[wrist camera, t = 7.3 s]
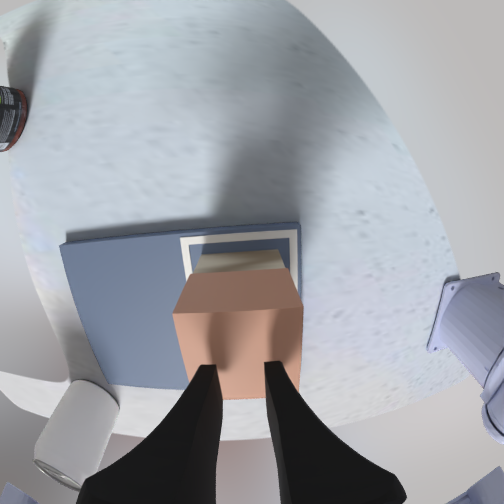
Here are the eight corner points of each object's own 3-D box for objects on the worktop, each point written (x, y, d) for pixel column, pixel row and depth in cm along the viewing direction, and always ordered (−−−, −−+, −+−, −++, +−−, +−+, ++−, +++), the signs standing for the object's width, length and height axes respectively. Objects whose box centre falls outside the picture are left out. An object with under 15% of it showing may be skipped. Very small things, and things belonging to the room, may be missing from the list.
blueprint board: (297, 222, 18) (300, 225, 17) (295, 377, 23) (297, 385, 22) (65, 242, 18) (58, 246, 17) (111, 377, 22) (107, 384, 21)
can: (129, 417, 25) (102, 500, 13) (88, 412, 25) (56, 484, 13) (104, 378, 23) (60, 468, 11) (62, 375, 23) (17, 449, 11)
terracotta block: (288, 267, 14) (303, 306, 10) (287, 346, 15) (298, 394, 12) (190, 273, 14) (172, 313, 10) (203, 350, 15) (194, 399, 12)
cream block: (278, 249, 18) (287, 272, 14) (279, 315, 19) (287, 349, 16) (201, 254, 18) (190, 279, 14) (210, 319, 19) (203, 354, 15)
